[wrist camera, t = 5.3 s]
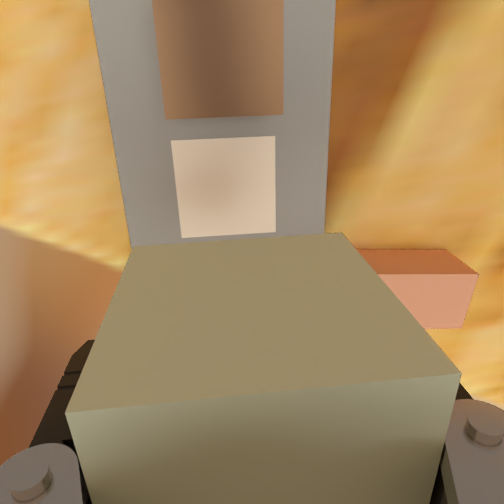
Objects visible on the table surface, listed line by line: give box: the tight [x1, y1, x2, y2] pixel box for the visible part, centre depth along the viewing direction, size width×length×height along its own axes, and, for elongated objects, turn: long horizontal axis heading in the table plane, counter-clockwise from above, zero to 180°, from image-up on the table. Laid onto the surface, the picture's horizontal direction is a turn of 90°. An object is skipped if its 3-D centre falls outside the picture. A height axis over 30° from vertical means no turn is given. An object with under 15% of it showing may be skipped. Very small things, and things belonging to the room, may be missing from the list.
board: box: [89, 0, 336, 249], centre depth 22 cm, size 12×15×1 cm
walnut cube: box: [152, 0, 284, 120], centre depth 18 cm, size 5×5×5 cm
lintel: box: [356, 249, 479, 329], centre depth 26 cm, size 12×4×4 cm, turn 87°
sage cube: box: [65, 233, 462, 504], centre depth 8 cm, size 5×5×5 cm
